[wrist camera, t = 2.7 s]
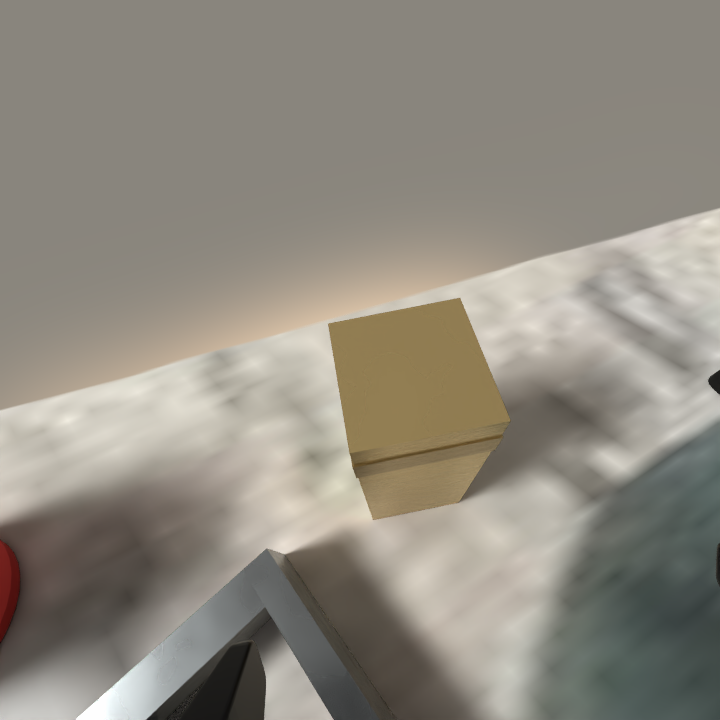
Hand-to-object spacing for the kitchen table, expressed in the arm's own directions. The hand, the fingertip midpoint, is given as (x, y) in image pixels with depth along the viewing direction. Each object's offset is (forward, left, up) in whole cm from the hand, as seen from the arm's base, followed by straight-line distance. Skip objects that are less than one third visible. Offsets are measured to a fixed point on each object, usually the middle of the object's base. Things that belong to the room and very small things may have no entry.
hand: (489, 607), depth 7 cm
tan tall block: (+5, -3, -12) cm, 14 cm away
